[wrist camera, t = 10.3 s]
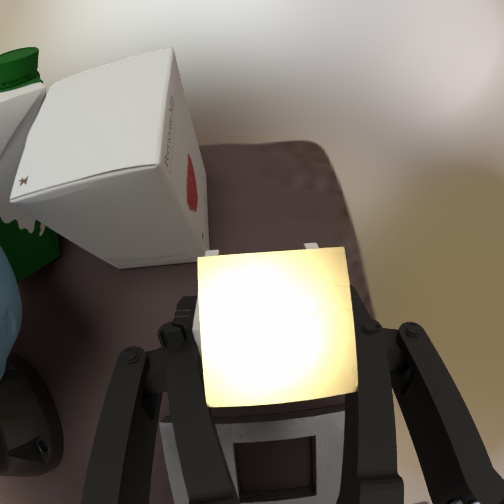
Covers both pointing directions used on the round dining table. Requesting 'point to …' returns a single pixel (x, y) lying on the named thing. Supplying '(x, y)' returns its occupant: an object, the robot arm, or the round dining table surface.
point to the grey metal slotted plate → (269, 429)
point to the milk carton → (8, 159)
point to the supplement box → (118, 164)
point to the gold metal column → (276, 327)
